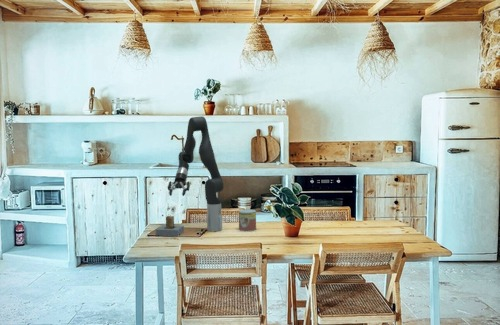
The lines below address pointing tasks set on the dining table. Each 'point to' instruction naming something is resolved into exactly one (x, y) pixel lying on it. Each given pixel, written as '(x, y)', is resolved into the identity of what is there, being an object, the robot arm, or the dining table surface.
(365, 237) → the dining table surface
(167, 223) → the walnut post
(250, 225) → the canned food
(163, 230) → the charcoal well block
